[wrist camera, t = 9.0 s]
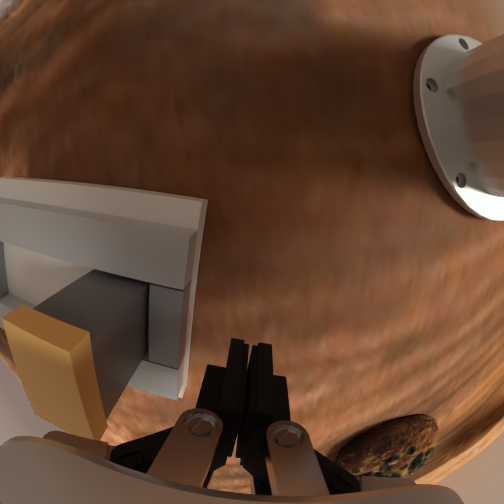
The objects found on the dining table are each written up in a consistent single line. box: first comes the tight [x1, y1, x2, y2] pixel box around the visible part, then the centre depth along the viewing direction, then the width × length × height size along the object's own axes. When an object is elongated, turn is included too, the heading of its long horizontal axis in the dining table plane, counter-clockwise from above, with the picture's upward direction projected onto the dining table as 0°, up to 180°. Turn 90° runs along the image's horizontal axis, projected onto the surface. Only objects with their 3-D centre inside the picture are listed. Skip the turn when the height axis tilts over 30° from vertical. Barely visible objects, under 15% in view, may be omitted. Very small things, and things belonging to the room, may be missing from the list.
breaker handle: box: [2, 269, 151, 441], centre depth 10 cm, size 3×5×7 cm
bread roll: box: [336, 415, 439, 478], centre depth 18 cm, size 11×11×5 cm
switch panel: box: [0, 176, 208, 400], centre depth 14 cm, size 16×12×3 cm
